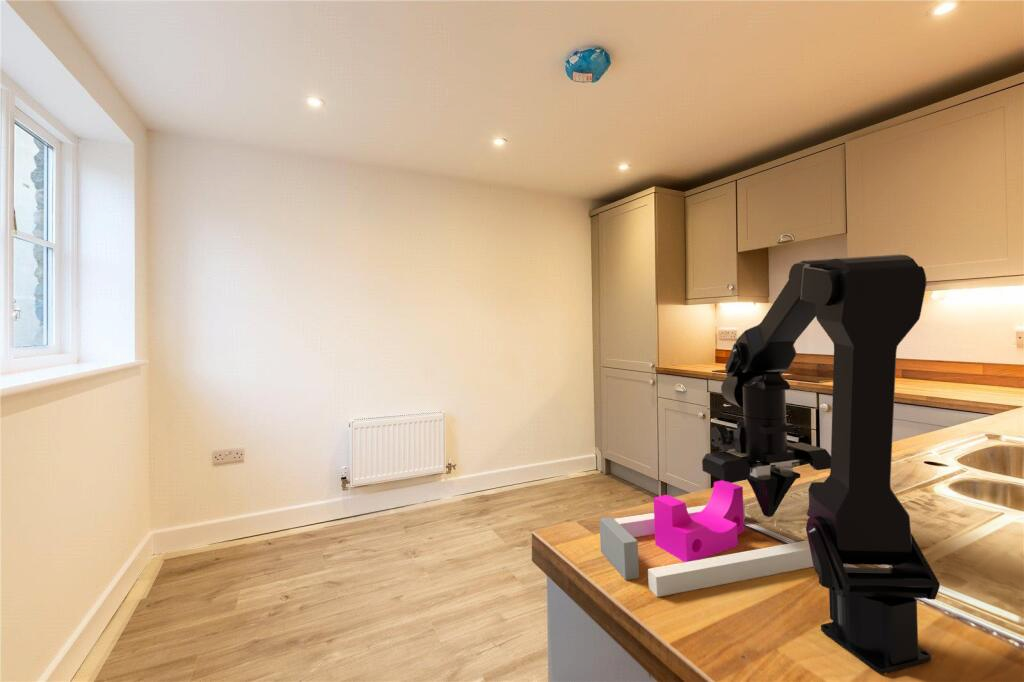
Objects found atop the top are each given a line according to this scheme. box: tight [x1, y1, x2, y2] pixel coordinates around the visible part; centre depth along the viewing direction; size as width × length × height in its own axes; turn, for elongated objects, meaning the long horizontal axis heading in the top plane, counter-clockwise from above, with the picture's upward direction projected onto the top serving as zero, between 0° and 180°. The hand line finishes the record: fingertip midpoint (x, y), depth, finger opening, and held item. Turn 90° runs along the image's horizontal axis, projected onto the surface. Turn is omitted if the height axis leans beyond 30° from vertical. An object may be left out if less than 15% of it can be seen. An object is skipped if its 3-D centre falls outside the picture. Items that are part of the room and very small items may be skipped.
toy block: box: [653, 479, 745, 563], centre depth 68 cm, size 15×6×8 cm, turn 114°
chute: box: [598, 503, 814, 598], centre depth 65 cm, size 17×28×5 cm, turn 102°
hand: (768, 515), depth 68 cm, fingers closed
